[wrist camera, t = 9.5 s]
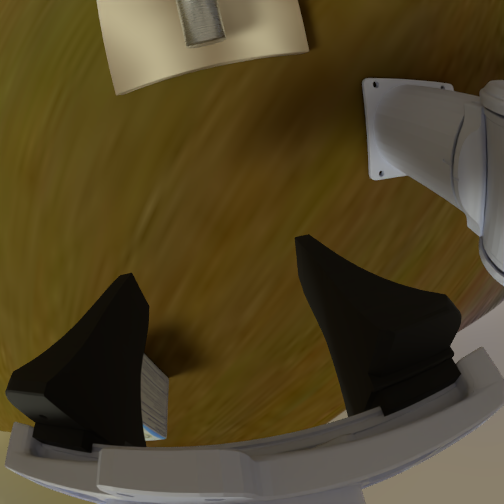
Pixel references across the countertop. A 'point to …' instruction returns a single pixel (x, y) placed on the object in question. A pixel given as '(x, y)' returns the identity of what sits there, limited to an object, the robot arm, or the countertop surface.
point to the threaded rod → (201, 22)
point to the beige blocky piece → (173, 44)
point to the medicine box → (153, 400)
